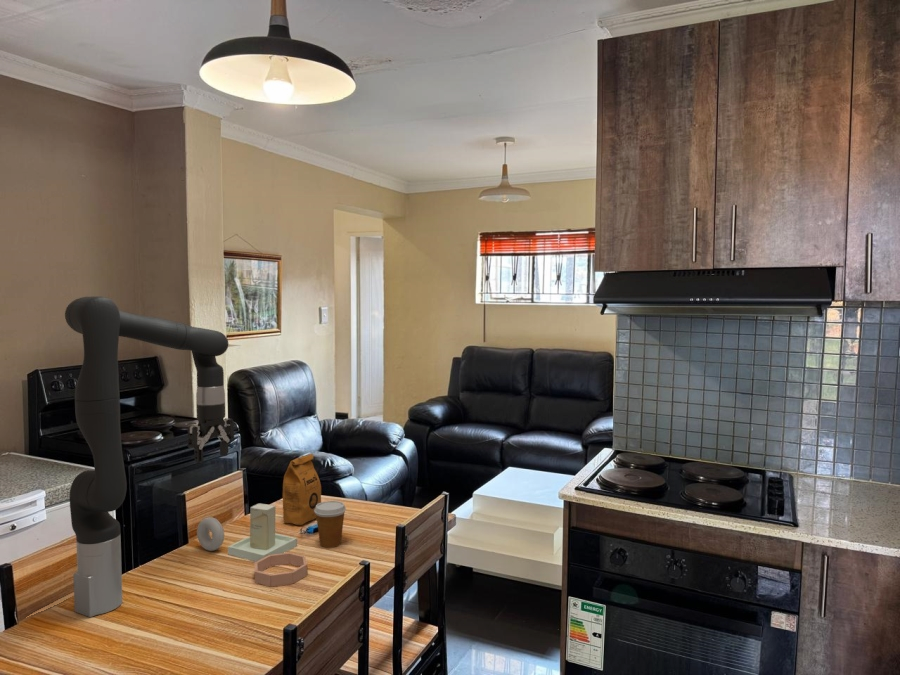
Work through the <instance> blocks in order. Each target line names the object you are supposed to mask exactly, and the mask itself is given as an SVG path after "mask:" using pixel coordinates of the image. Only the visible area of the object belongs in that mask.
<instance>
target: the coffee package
mask: <svg viewBox="0 0 900 675" xmlns="http://www.w3.org/2000/svg"><path fill="white" fill-rule="evenodd" d="M312 460H314V455H313V453H309V454H307V455H303V456H301V457H297V458H295V459H293V460H291V461H290V462H289V464H288V466H287V469H286V471H285V473H284V475H283V482H282V518H283V524H294V525H304V524H306V523H308V522H310V521H313V520H315V519H317V518H316V514H315V512H314V510H315V508H316V505H317V504H319V503H321V502H322V484H321V479H320V478H319V475H318V472H317V471H316V469H315V467H314V463H313V462H312Z"/></svg>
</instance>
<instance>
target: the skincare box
mask: <svg viewBox="0 0 900 675" xmlns="http://www.w3.org/2000/svg"><path fill="white" fill-rule="evenodd" d="M276 507H277V506H276V505H274V504H273V505H272V504H266V503H261V502H260V503H256V504H254V505H252V506H250V509H249V510H250V512H249V514H250V515H249V516H250V517H249V518H250V520H249V521H250V524H249V525H250V526H249V530H250V531H249V532H250V533H249V536H250V547H252V548H258V549H263V550H268V549H269V548H271V547H273V546H274V545H275V533H276Z"/></svg>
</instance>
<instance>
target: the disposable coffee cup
mask: <svg viewBox="0 0 900 675" xmlns="http://www.w3.org/2000/svg"><path fill="white" fill-rule="evenodd" d="M346 510H347V508H346V506H345V503H344V502H342V501H339V500H327V501H326V500H325V501H321V503H319V504H317V505H316V508H315V510H314V512H315V514H316V518H315V519H316V523H317V524H316V525H317V530H318V538H319V539H318V540H319V546H320V547H322V548H326V549H327V548H328V549H329V548H335V547H338V546H340V545H341V544H342V537H343V526H344V520H345V512H346Z"/></svg>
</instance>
